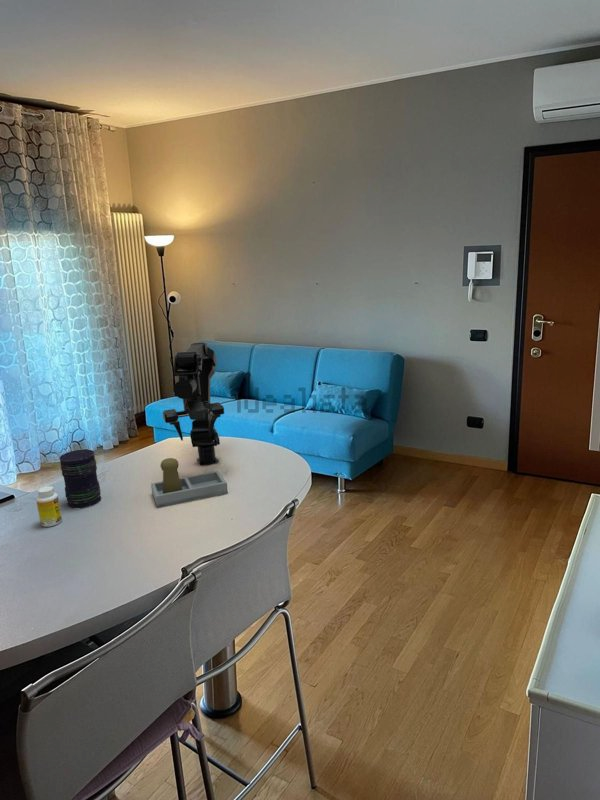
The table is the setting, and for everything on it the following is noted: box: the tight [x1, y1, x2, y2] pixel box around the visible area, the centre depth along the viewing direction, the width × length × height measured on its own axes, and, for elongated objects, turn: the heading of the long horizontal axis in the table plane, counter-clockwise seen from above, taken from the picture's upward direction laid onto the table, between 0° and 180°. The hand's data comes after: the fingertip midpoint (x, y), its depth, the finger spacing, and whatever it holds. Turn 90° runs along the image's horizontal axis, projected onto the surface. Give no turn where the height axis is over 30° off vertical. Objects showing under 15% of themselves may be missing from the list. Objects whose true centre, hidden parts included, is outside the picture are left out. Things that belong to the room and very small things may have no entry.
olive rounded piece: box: [160, 457, 183, 494], centre depth 173 cm, size 6×6×11 cm
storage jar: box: [59, 448, 102, 509], centre depth 174 cm, size 10×10×15 cm
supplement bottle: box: [35, 485, 63, 528], centre depth 161 cm, size 6×6×10 cm
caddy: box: [150, 470, 229, 509], centre depth 176 cm, size 11×21×4 cm, turn 111°
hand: (196, 438), depth 187 cm, fingers open, 9 cm apart
